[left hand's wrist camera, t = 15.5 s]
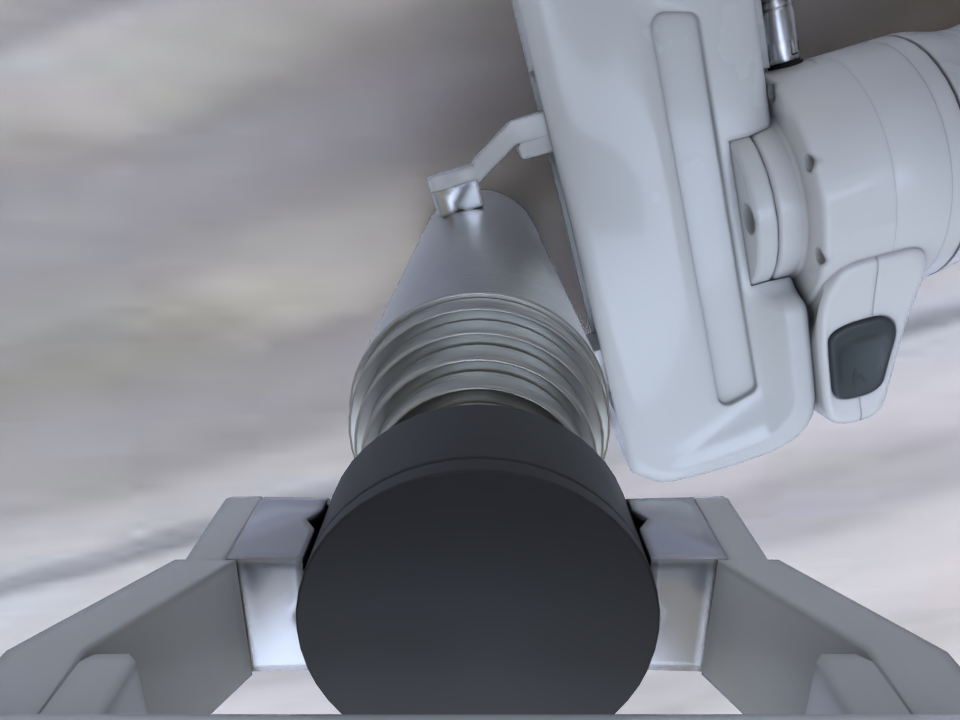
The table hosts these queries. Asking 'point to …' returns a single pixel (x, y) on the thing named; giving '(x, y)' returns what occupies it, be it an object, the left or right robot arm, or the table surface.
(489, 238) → the bottle
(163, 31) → the table surface
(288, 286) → the table surface
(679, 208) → the right robot arm
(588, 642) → the cap
